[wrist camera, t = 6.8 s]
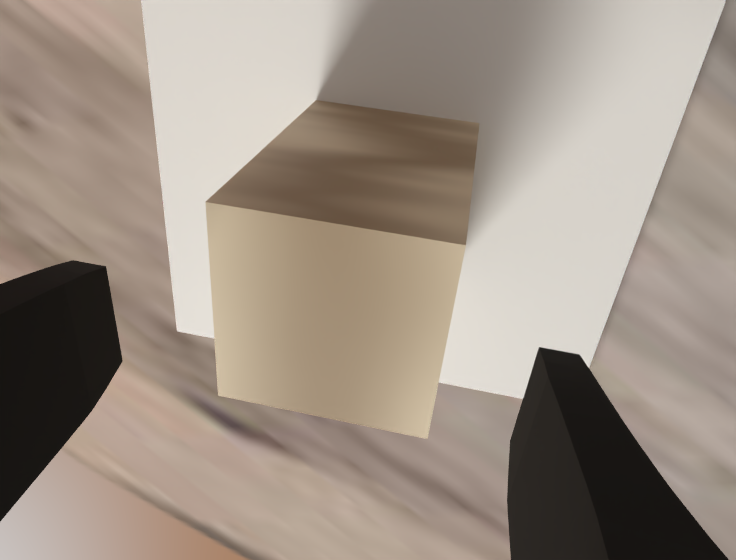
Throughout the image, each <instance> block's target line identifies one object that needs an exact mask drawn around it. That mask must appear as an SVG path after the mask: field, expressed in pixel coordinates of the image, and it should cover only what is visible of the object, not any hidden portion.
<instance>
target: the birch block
mask: <svg viewBox="0 0 736 560" xmlns="http://www.w3.org/2000/svg"><path fill="white" fill-rule="evenodd" d="M478 132H479V123H475V122H468V121H460V120H453V119H446V118H439V117H432V116H425V115H418V114H411V113H404V112H397V111H390V110H383V109H376V108H369V107H362V106H355V105H348V104H340V103H333V102H326V101H319V100H316V101H315V102H313V103H312V104H311V105H310V106H309V107H308V108H307V109H306V110H305V111H304V112H303V113H302V114H300V115H299V116H298V117H297V118H296V119H295V120H294V121H293V122H292V123H291V124H290V125H288V126H287V127H286V128H285V129H284V130H283V131H282V132H281V133H280V134H279V135H278V136H276V137H275V138H274V139H273V140H272V141H271V142H270V143H269V144H268V145H267V146H266V147H265V148H263V149H262V150H261V151H260V152H259V153H258V154H257V155H256V156H255V157H254V158H253V159H251V160H250V161H249V162H248V163H247V164H246V165H245V166H244V167H243V168H242V169H241V170H239V171H238V172H237V173H236V174H235V175H234V176H233V177H232V178H231V179H230V180H229V181H228V182H226V183H225V184H224V185H223V186H222V187H221V188H220V189H219V190H218V191H217V192H216V193H214V194H213V195H212V196H211V197H210V198H209V199H208V200H207V201H206V202H205V204H206V219H207V234H208V249H209V264H210V279H211V295H212V310H213V325H214V340H215V355H216V370H217V385H218V396H223V397H228V398H233V399H238V400H242V401H247V402H252V403H257V404H262V405H266V406H271V407H276V408H281V409H286V410H290V411H295V412H300V413H305V414H310V415H314V416H319V417H324V418H329V419H334V420H339V421H343V422H348V423H353V424H358V425H363V426H367V427H372V428H377V429H382V430H387V431H391V432H396V433H401V434H406V435H411V436H415V437H420V438H425V439H427V438H428V433H429V428H430V423H431V418H432V413H433V408H434V403H435V398H436V393H437V388H438V383H439V378H440V373H441V368H442V363H443V358H444V353H445V348H446V343H447V338H448V333H449V328H450V323H451V318H452V313H453V308H454V303H455V298H456V293H457V288H458V283H459V278H460V273H461V268H462V263H463V258H464V253H465V248H466V240H467V231H468V222H469V213H470V204H471V195H472V186H473V177H474V168H475V159H476V150H477V141H478Z"/></svg>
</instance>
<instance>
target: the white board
mask: <svg viewBox="0 0 736 560" xmlns="http://www.w3.org/2000/svg"><path fill="white" fill-rule="evenodd" d="M725 2H726V0H141V4H142V13H143V22H144V31H145V41H146V50H147V59H148V68H149V77H150V87H151V96H152V105H153V114H154V123H155V133H156V142H157V151H158V160H159V169H160V179H161V188H162V197H163V206H164V215H165V225H166V234H167V243H168V252H169V261H170V271H171V280H172V289H173V298H174V307H175V317H176V326H177V331H179V332H184V333H189V334H194V335H199V336H204V337H209V338H214V325H213V310H212V295H211V279H210V264H209V249H208V234H207V219H206V204H205V202H206V201H207V200H208V199H209V198H210V197H211V196H212V195H213V194H214V193H216V192H217V191H218V190H219V189H220V188H221V187H222V186H223V185H224V184H225V183H226V182H228V181H229V180H230V179H231V178H232V177H233V176H234V175H235V174H236V173H237V172H238V171H239V170H241V169H242V168H243V167H244V166H245V165H246V164H247V163H248V162H249V161H250V160H251V159H253V158H254V157H255V156H256V155H257V154H258V153H259V152H260V151H261V150H262V149H263V148H265V147H266V146H267V145H268V144H269V143H270V142H271V141H272V140H273V139H274V138H275V137H276V136H278V135H279V134H280V133H281V132H282V131H283V130H284V129H285V128H286V127H287V126H288V125H290V124H291V123H292V122H293V121H294V120H295V119H296V118H297V117H298V116H299V115H300V114H302V113H303V112H304V111H305V110H306V109H307V108H308V107H309V106H310V105H311V104H312V103H313V102H315V101H316V100H319V101H326V102H333V103H340V104H348V105H355V106H362V107H369V108H376V109H383V110H390V111H397V112H404V113H411V114H418V115H425V116H432V117H439V118H446V119H453V120H460V121H468V122H475V123H479V132H478V141H477V150H476V159H475V168H474V177H473V186H472V195H471V204H470V213H469V222H468V231H467V240H466V248H465V253H464V258H463V263H462V268H461V273H460V278H459V283H458V288H457V293H456V298H455V303H454V308H453V313H452V318H451V323H450V328H449V333H448V338H447V343H446V348H445V353H444V358H443V363H442V368H441V373H440V378H439V383H444V384H449V385H455V386H460V387H465V388H470V389H475V390H480V391H485V392H490V393H495V394H501V395H506V396H511V397H516V398H521V399H523V398H524V394H525V391H526V388H527V385H528V381H529V378H530V375H531V371H532V368H533V365H534V362H535V358H536V355H537V352H538V349H539V347H542V348H547V349H553V350H558V351H564V352H569V353H574V354H580V356H581V357H582V359H583V360H584V362H585V363H586V365H587V366H588V368H589V367H590V364H591V361H592V359H593V356H594V353H595V351H596V348H597V345H598V342H599V340H600V337H601V334H602V332H603V329H604V326H605V324H606V321H607V318H608V316H609V313H610V310H611V308H612V305H613V302H614V300H615V297H616V294H617V292H618V289H619V286H620V283H621V281H622V278H623V275H624V273H625V270H626V267H627V265H628V262H629V259H630V257H631V254H632V251H633V249H634V246H635V243H636V241H637V238H638V235H639V232H640V230H641V227H642V224H643V222H644V219H645V216H646V214H647V211H648V208H649V206H650V203H651V200H652V198H653V195H654V192H655V190H656V187H657V184H658V182H659V179H660V176H661V173H662V171H663V168H664V165H665V163H666V160H667V157H668V155H669V152H670V149H671V147H672V144H673V141H674V139H675V136H676V133H677V131H678V128H679V125H680V123H681V120H682V117H683V114H684V112H685V109H686V106H687V104H688V101H689V98H690V96H691V93H692V90H693V88H694V85H695V82H696V80H697V77H698V74H699V72H700V69H701V66H702V64H703V61H704V58H705V55H706V53H707V50H708V47H709V45H710V42H711V39H712V37H713V34H714V31H715V29H716V26H717V23H718V21H719V18H720V15H721V13H722V10H723V7H724V5H725Z"/></svg>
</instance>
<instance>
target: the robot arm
mask: <svg viewBox="0 0 736 560" xmlns="http://www.w3.org/2000/svg"><path fill="white" fill-rule="evenodd" d="M121 363H122V355H121V349H120V344H119V338H118V332H117V327H116V321H115V315H114V310H113V304H112V298H111V292H110V287H109V281H108V275H107V270H106V266H101V265H95V264H90V263H84V262H79V261H74V260H73V261H69V262H65V263H61V264H58V265H54V266H51V267H48V268H45V269H42V270H39V271H36V272H33V273H30V274H27V275H24V276H21V277H19V278H16V279H13V280H10V281H7V282H5V283H2V284H0V521H1V520H2V519H3V518H4V516H5V515H6V514H7V513H8V512H9V510H10V509H11V508H12V507H13V505H14V504H15V503H16V502H17V501H18V500H19V498H20V497H21V496H22V495H23V494H24V492H25V491H26V490H27V489H28V488H29V486H30V485H31V484H32V483H33V482H34V480H35V479H36V478H37V477H38V476H39V474H40V473H41V472H42V471H43V470H44V468H45V467H46V466H47V465H48V463H49V462H50V461H51V460H52V459H53V458H54V456H55V455H56V454H57V453H58V452H59V450H60V449H61V448H62V447H63V446H64V444H65V443H66V442H67V441H68V440H69V438H70V437H71V436H72V435H73V433H74V432H75V431H76V430H77V428H78V427H79V426H80V425H81V424H82V422H83V421H84V420H85V419H86V417H87V416H88V415H89V414H90V412H91V411H92V410H93V408H94V407H95V405H96V404H97V402H98V400H99V399H100V397H101V396H102V394H103V393H104V391H105V390H106V388H107V386H108V385H109V383H110V381H111V380H112V378H113V376H114V375H115V373H116V371H117V369H118V368H119V366H120V364H121ZM507 504H508V521H509V536H510V551H511V560H728V558H727V557H726V556H725V555H724V554H723V552H722V551H721V550H720V549H719V548H718V547H717V545H716V544H715V543H714V542H713V541H712V540H711V538H710V537H709V536H708V535H707V534H706V532H705V531H704V530H703V529H702V527H701V526H700V525H699V523H698V522H697V521H696V520H695V518H694V517H693V516H692V515H691V513H690V512H689V511H688V510H687V508H686V507H685V506H684V505H683V503H682V502H681V501H680V500H679V498H678V497H677V496H676V494H675V493H674V492H673V491H672V489H671V488H670V487H669V485H668V484H667V483H666V481H665V480H664V479H663V477H662V476H661V475H660V473H659V472H658V470H657V469H656V467H655V466H654V465H653V463H652V462H651V460H650V459H649V458H648V456H647V455H646V453H645V452H644V451H643V449H642V448H641V446H640V445H639V444H638V442H637V441H636V439H635V438H634V436H633V435H632V433H631V432H630V430H629V429H628V428H627V426H626V425H625V423H624V422H623V420H622V419H621V417H620V416H619V414H618V412H617V411H616V409H615V408H614V406H613V405H612V403H611V402H610V400H609V399H608V397H607V396H606V394H605V393H604V391H603V389H602V388H601V386H600V385H599V383H598V382H597V380H596V379H595V377H594V375H593V374H592V372H591V371H590V369H589V368H588V366H587V365H586V363H585V362H584V360H583V359H582V357H581V356H580V354H574V353H569V352H564V351H558V350H553V349H547V348H542V347H539V349H538V352H537V355H536V358H535V362H534V365H533V368H532V371H531V375H530V378H529V381H528V385H527V388H526V391H525V394H524V398H523V401H522V404H521V407H520V411H519V414H518V417H517V420H516V424H515V427H514V430H513V434H512V437H511V440H510V454H509V472H508V496H507Z"/></svg>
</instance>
